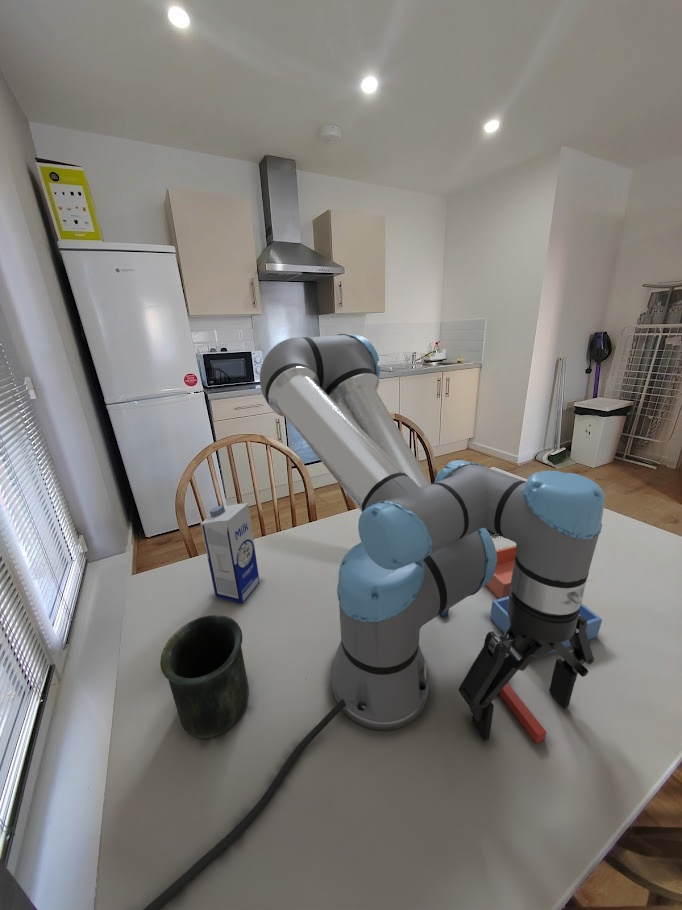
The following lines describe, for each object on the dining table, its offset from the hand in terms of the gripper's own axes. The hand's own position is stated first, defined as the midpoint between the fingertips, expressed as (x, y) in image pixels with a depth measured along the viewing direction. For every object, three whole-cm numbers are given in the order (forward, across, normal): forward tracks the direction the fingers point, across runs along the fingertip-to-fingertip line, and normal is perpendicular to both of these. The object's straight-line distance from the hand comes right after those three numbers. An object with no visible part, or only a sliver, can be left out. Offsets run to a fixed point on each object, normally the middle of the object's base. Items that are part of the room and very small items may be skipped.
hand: (520, 713), depth 51 cm
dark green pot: (0, -42, +17) cm, 46 cm away
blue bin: (0, +15, +11) cm, 19 cm away
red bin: (0, +20, +24) cm, 31 cm away
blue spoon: (0, 0, +25) cm, 25 cm away
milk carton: (0, -38, +40) cm, 55 cm away
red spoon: (0, 0, +2) cm, 2 cm away
